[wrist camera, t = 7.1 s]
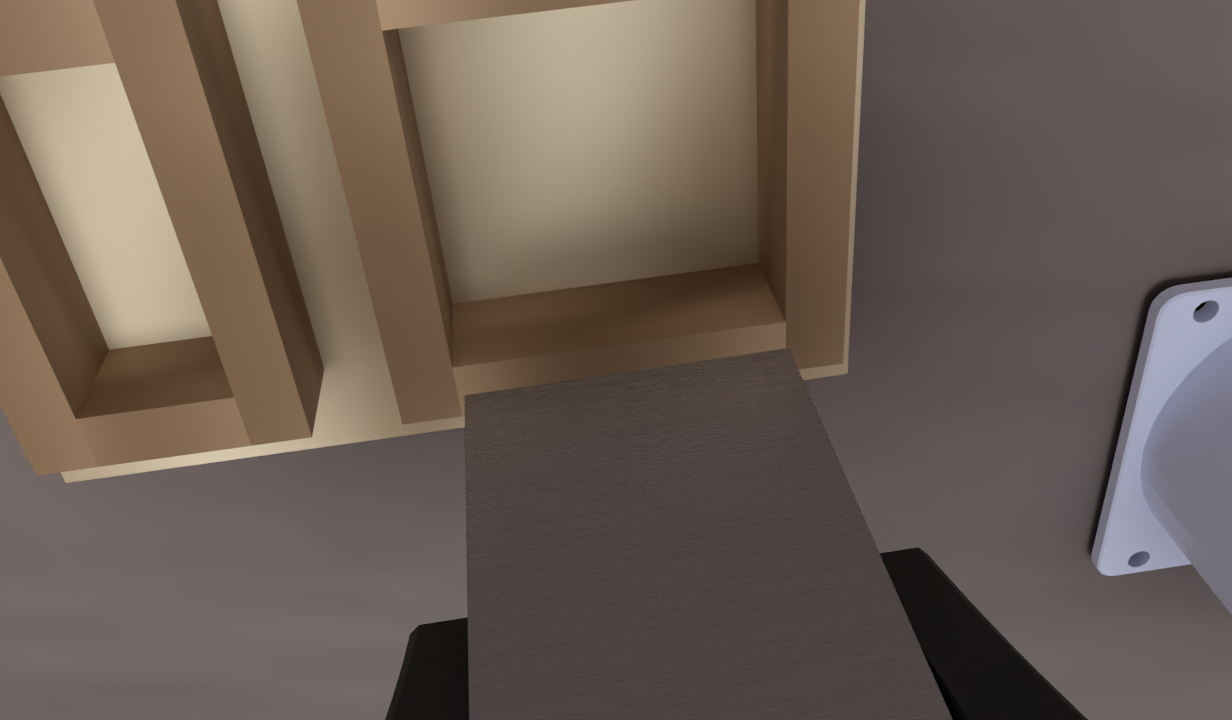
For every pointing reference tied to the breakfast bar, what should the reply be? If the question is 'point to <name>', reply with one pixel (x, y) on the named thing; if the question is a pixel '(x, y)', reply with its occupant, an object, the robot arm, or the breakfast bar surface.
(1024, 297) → the breakfast bar surface
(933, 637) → the robot arm
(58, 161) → the holder board
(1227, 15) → the breakfast bar surface
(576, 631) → the square bit
